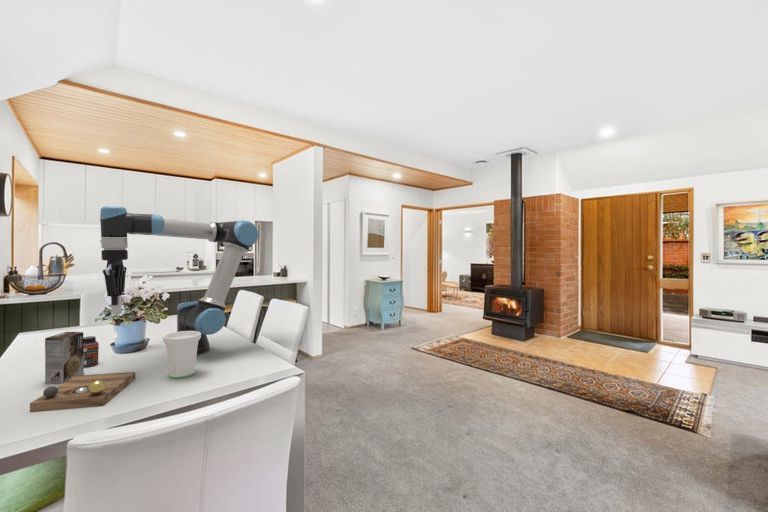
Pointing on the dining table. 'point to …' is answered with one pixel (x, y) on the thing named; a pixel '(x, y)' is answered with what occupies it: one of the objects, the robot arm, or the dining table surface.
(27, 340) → the dining table surface
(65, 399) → the wooden board
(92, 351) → the supplement bottle
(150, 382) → the dining table surface
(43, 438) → the dining table surface
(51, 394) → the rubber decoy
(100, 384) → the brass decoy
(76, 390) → the steel ball
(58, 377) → the coffee box
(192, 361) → the cup
